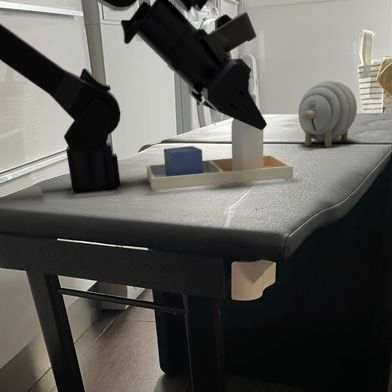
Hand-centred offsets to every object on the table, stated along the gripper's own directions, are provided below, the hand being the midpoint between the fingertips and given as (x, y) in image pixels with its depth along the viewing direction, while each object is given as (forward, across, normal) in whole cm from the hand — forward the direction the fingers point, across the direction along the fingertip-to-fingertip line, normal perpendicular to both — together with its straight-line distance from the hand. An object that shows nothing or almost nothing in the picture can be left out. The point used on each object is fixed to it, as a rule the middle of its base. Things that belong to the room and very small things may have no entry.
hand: (258, 124), depth 79 cm
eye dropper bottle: (+4, 0, +6) cm, 7 cm away
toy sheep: (+19, +26, -9) cm, 33 cm away
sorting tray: (+1, 0, +10) cm, 10 cm away
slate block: (-3, -2, +13) cm, 13 cm away
